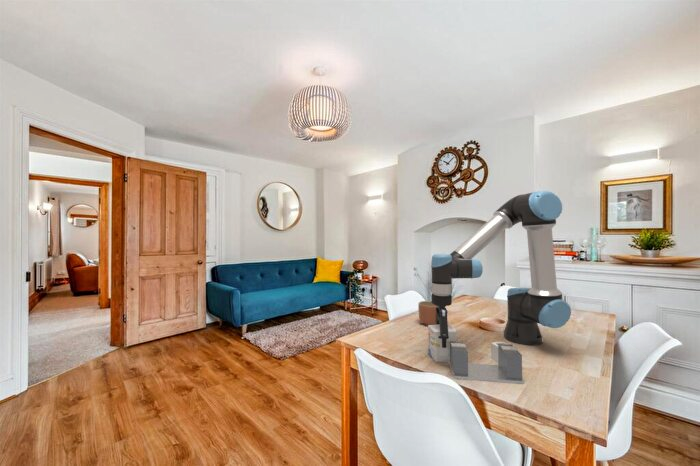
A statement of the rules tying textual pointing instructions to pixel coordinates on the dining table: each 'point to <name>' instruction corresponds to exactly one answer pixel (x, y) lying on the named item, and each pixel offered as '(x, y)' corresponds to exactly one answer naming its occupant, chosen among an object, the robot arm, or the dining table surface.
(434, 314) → the planter
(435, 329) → the ink box
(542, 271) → the robot arm
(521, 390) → the dining table surface
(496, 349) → the loose module
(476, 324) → the dining table surface
